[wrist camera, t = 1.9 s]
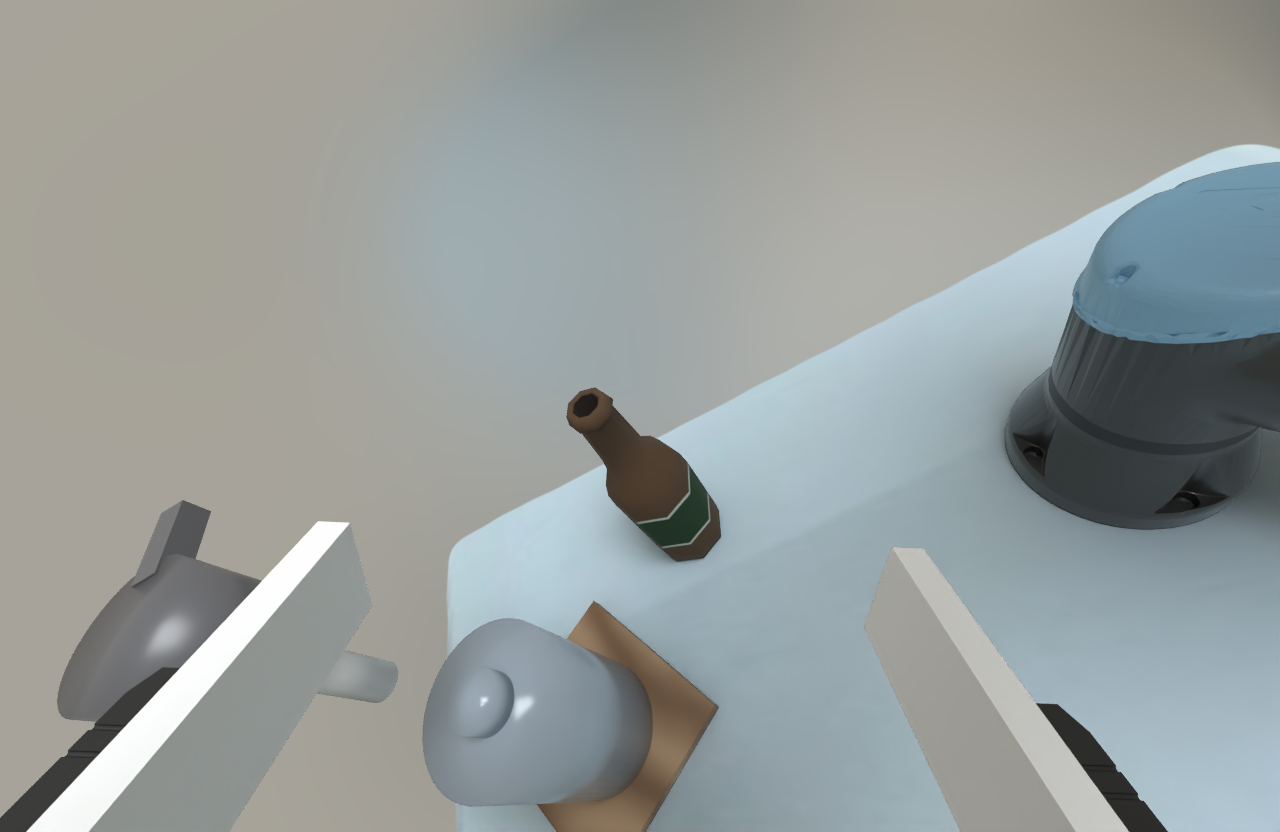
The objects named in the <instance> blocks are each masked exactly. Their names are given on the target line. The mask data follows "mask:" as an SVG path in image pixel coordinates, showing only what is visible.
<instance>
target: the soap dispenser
mask: <svg viewBox="0 0 1280 832" xmlns="http://www.w3.org/2000/svg"><path fill="white" fill-rule="evenodd" d="M652 732H653V715H652V708H651V704H650V700H649V697H648V694H647V692H646V689H645V687H644V685H643V684H642V682H641V681H640V679H639V678H638V676H637V675H636V674H635V673H634V672H633V671H632V670H630V669H629V668H628V667H627V666H625V665H623V664H621V663H619V662H617V661H615V660H612V659H610V658H608V657H605V656H603V655H601V654H599V653H596V652H594V651H592V650H589V649H587V648H585V647H583V646H580V645H578V644H576V643H573V642H571V641H569V640H567V639H564V638H562V637H560V636H557V635H555V634H553V633H551V632H548V631H546V630H544V629H541V628H539V627H537V626H535V625H532V624H530V623H528V622H525V621H522V620H519V619H499V620H495V621H492V622H489V623H487V624H485V625H483V626H481V627H479V628H477V629H476V630H474V631H473V632H472V633H470V634H469V635H468V636H467V637H465V638H464V639H463V640H462V641H461V642H460V643H459V644H458V645H457V647H456V648H455V649H454V650H453V651H452V653H451V654H450V655H449V657H448V658H447V660H446V661H445V663H444V664H443V666H442V668H441V669H440V671H439V673H438V675H437V677H436V679H435V682H434V684H433V687H432V689H431V692H430V695H429V698H428V702H427V705H426V710H425V715H424V723H423V751H424V756H425V762H426V765H427V768H428V771H429V774H430V776H431V778H432V780H433V782H434V783H435V785H436V786H437V788H438V789H439V790H440V791H441V792H442V794H444V795H445V796H446V797H447V798H449V799H450V800H451V801H453V802H455V803H458V804H460V805H465V806H496V805H520V804H544V803H568V802H592V801H603V800H607V799H610V798H612V797H614V796H616V795H618V794H619V793H621V792H622V791H624V790H625V789H626V788H627V787H628V786H629V785H630V784H631V783H632V782H633V781H634V780H635V778H636V777H637V775H638V774H639V772H640V771H641V769H642V767H643V765H644V763H645V761H646V758H647V756H648V753H649V749H650V745H651V740H652Z"/></svg>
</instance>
